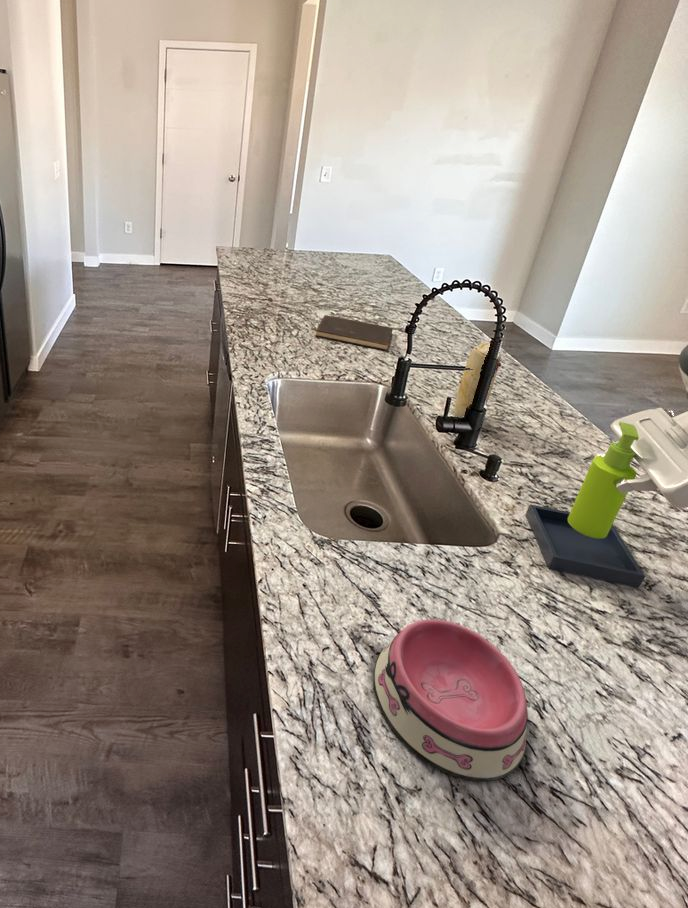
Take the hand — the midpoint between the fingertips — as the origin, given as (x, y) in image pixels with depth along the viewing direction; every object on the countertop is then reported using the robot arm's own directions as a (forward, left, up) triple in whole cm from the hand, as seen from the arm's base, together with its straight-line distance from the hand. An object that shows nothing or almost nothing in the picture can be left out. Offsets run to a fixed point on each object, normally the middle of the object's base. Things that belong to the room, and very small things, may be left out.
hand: (607, 474), depth 91 cm
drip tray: (-1, 0, -17) cm, 17 cm away
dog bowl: (+27, +37, -17) cm, 49 cm away
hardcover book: (+37, -86, -17) cm, 95 cm away
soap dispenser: (-1, 0, -11) cm, 11 cm away
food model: (+10, -42, -17) cm, 46 cm away
